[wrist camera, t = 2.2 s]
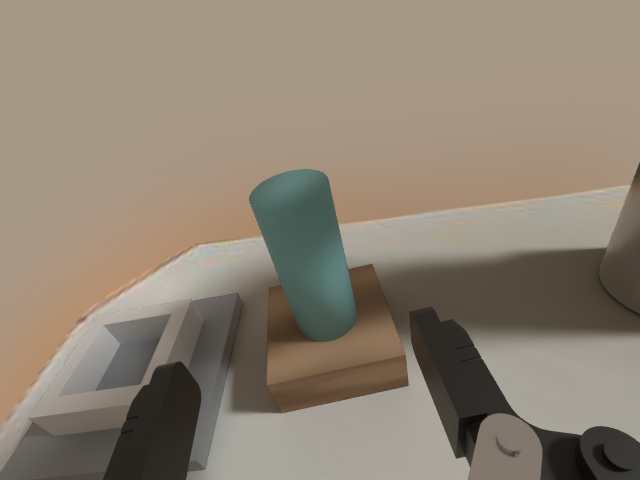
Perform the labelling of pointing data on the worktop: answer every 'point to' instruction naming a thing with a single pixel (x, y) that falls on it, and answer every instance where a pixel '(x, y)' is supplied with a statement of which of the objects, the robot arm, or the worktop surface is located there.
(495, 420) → the robot arm
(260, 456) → the worktop surface
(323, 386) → the stand
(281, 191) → the peg
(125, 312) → the socket base
